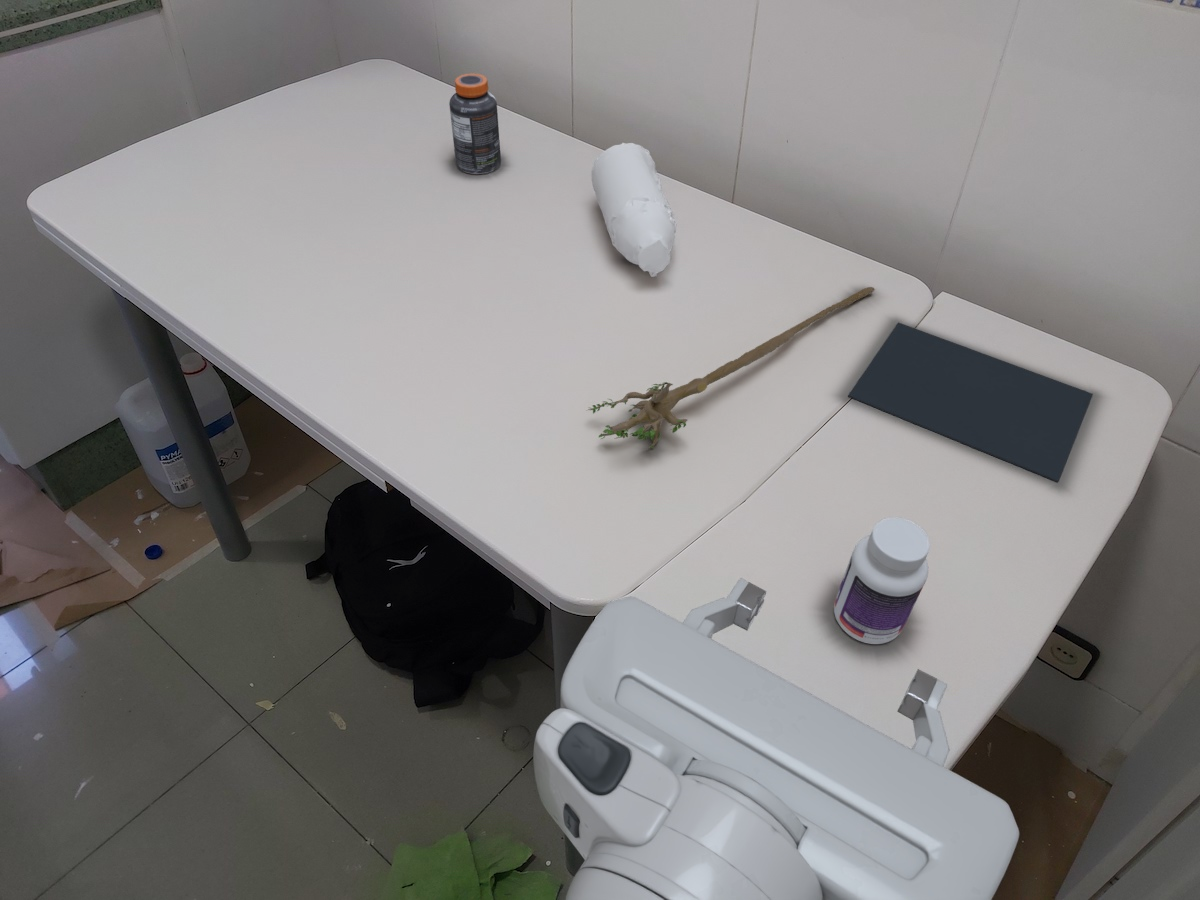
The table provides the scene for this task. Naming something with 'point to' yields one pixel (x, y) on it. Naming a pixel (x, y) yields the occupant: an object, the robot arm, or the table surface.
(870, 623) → the pill bottle
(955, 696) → the table surface
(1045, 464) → the mat
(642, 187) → the white bottle
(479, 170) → the pill bottle
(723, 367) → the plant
